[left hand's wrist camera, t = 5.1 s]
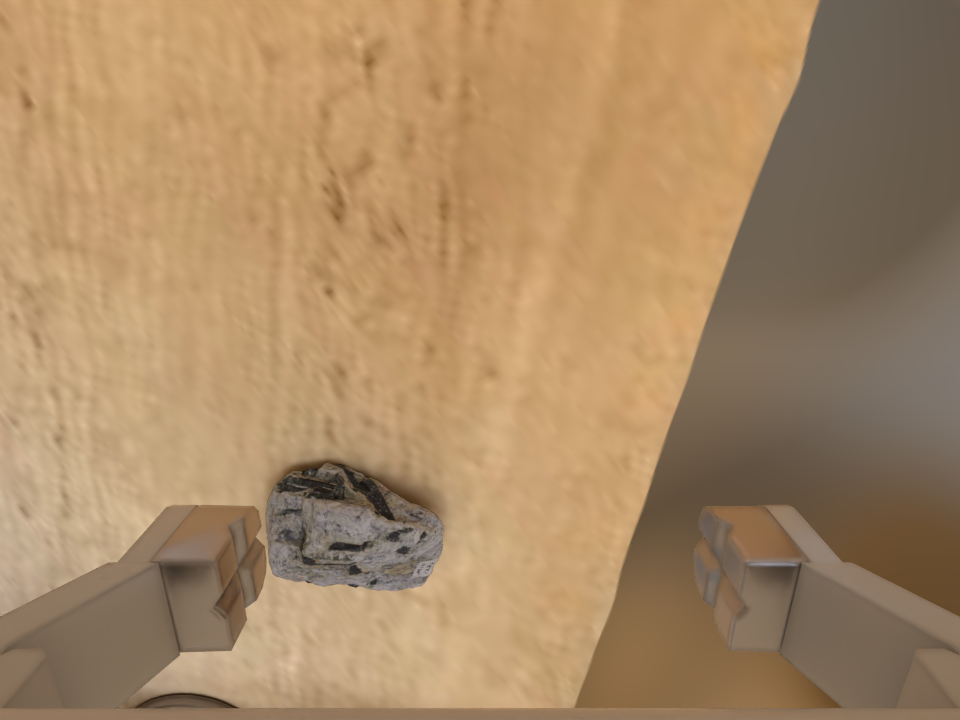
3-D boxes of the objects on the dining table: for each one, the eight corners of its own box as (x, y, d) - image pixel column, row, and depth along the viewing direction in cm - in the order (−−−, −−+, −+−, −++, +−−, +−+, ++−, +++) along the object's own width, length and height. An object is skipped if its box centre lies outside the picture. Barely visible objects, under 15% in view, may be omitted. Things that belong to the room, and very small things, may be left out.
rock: (264, 544, 51) (233, 605, 44) (282, 446, 47) (253, 496, 41) (427, 578, 52) (421, 642, 46) (456, 486, 49) (455, 540, 42)
